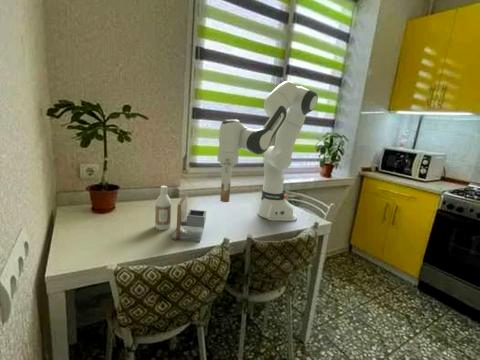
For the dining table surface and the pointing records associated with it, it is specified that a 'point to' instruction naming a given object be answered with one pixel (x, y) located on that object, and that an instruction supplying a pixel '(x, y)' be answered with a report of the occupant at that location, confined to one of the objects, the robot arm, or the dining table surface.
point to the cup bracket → (189, 223)
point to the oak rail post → (225, 193)
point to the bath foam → (163, 210)
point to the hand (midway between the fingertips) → (225, 188)
